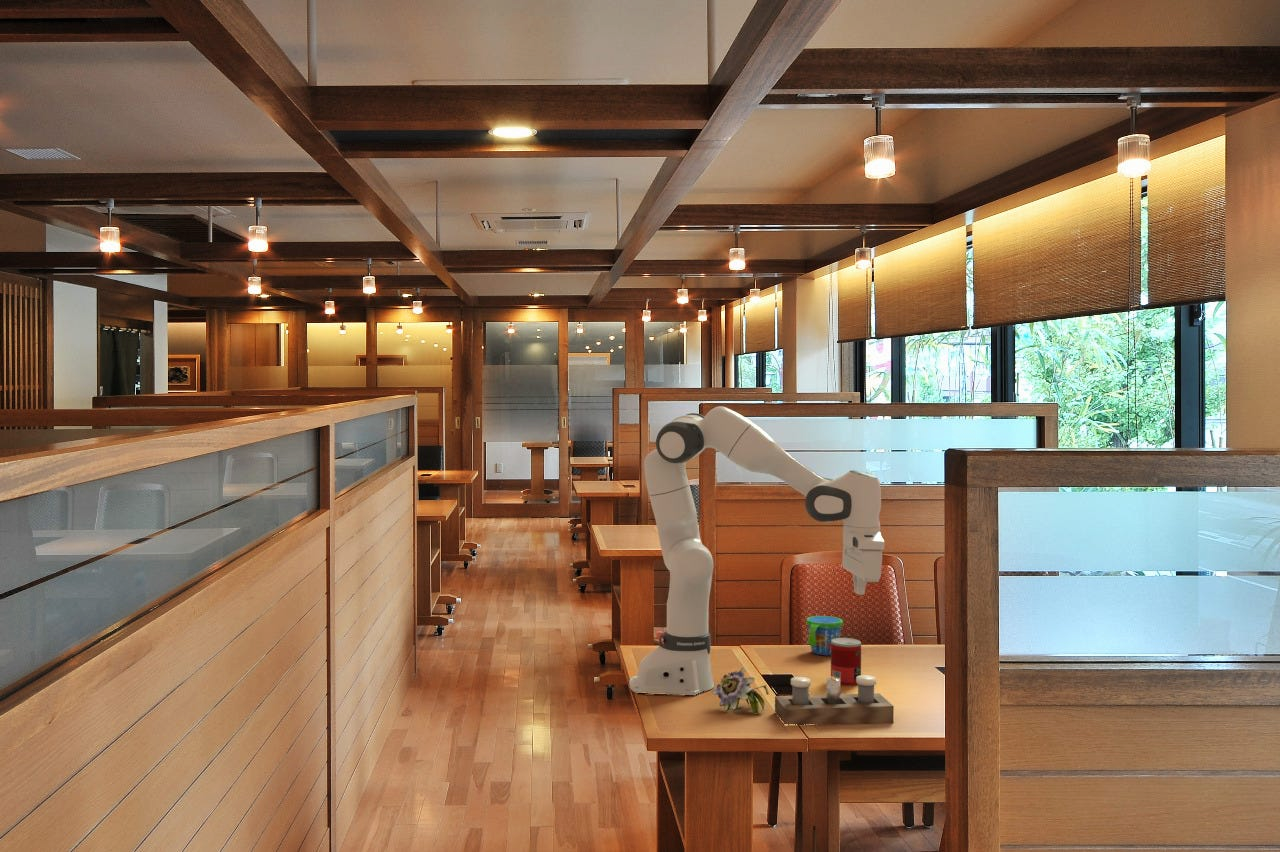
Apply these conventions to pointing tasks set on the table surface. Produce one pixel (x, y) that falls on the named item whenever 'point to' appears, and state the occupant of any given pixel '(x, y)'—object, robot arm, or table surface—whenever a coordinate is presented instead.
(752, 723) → the table surface
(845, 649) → the canned food
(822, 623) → the snack cup
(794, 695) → the knob left
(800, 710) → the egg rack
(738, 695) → the passion flower
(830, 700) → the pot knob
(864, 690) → the knob right
